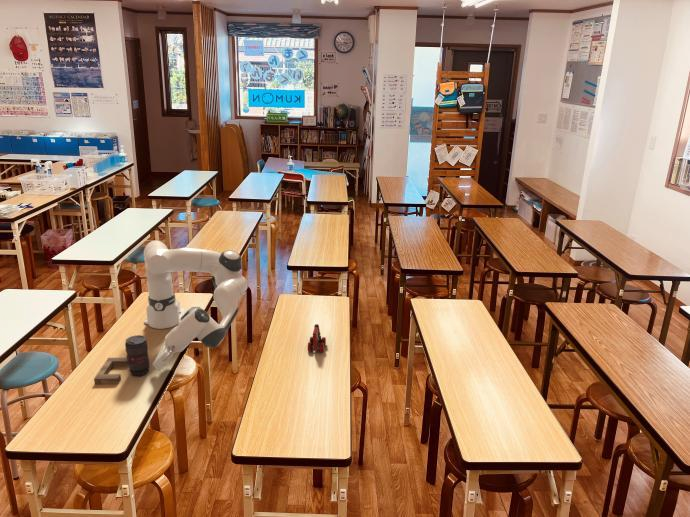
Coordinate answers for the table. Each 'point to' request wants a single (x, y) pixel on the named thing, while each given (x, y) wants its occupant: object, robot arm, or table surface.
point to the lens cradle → (103, 373)
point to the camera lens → (137, 355)
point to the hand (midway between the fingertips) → (154, 363)
